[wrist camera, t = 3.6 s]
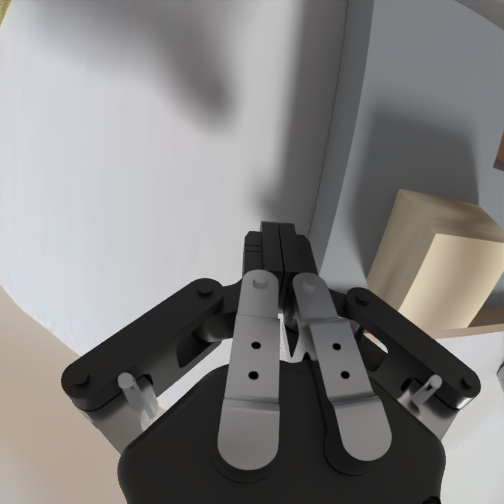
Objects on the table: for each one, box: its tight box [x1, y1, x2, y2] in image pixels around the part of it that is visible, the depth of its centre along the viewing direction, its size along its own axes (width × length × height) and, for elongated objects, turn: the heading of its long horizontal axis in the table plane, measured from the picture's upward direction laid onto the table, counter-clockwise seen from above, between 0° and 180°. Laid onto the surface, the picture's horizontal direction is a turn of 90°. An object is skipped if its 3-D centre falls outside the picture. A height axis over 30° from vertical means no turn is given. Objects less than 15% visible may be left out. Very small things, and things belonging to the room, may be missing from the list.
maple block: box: [366, 189, 504, 331], centre depth 14 cm, size 6×6×4 cm
